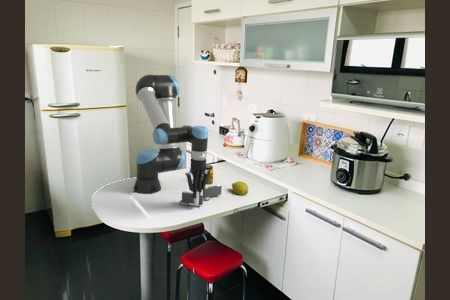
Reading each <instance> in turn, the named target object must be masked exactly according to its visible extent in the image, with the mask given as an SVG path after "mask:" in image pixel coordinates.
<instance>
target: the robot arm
mask: <svg viewBox="0 0 450 300" xmlns="http://www.w3.org/2000/svg"><path fill="white" fill-rule="evenodd" d="M179 84H180V83H179V82H178V79H177V78H176V77H175V76H174V75H171V74H169V75H168V74H145V75H142V77H140V78H139V79H138V81H137V82H136V85H135V95H136V97H137V99H138V100H139V101H140V102H141V104H142V105H143V107H144V110H145V111H146V114H147V116H148V118H149V121H150V123H151V125H152V127H153V129H154V130H153V131H152V138H153V142H154V144H156V145H160V146H159V148H158V149H156V148H147V149H143V150H140V151H139V152H138V153H137V154H136V160H135V162H136V178H135V182H134V184H133V185H134V186H133V193H137V194H142V195H151V194H155V193H156V194H157V193H158V192H161V190H162V185H161V182H160V179H159V173H162V172H170V171H174V172H175V171H177V170H181V168H183V166H184V164H185V159H186V158H185V152H184V150H183V149H181V147H180V145H179V144H181V143H189V144H191V146H190V147H191V151H190V169H189V171H188V172H185V173H184V175H185V177H186V179H187V184H188V189H189V191H190V192H191V193H193V198H194V203H195V204H194V205H197V204H199V197H200V195H201V194H202V193H203V190H204V189H205V187H206V186H207V185H206V182H207V178H208V175H209V174H210V171H208V170H206V165H207V157H208V156H207V155H208V154H207V153H208V152H207V151H208V141H209V129H208V127H206V126H204V125H194V126H191V125H186V124H185V125H182V126H180V127H176V118H175V104H174V103H175V101H176V99H177V97H178V95H179V94H180V85H179ZM158 150H159V151H158ZM203 174H204V175H203ZM197 206H198V205H197Z"/></svg>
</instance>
